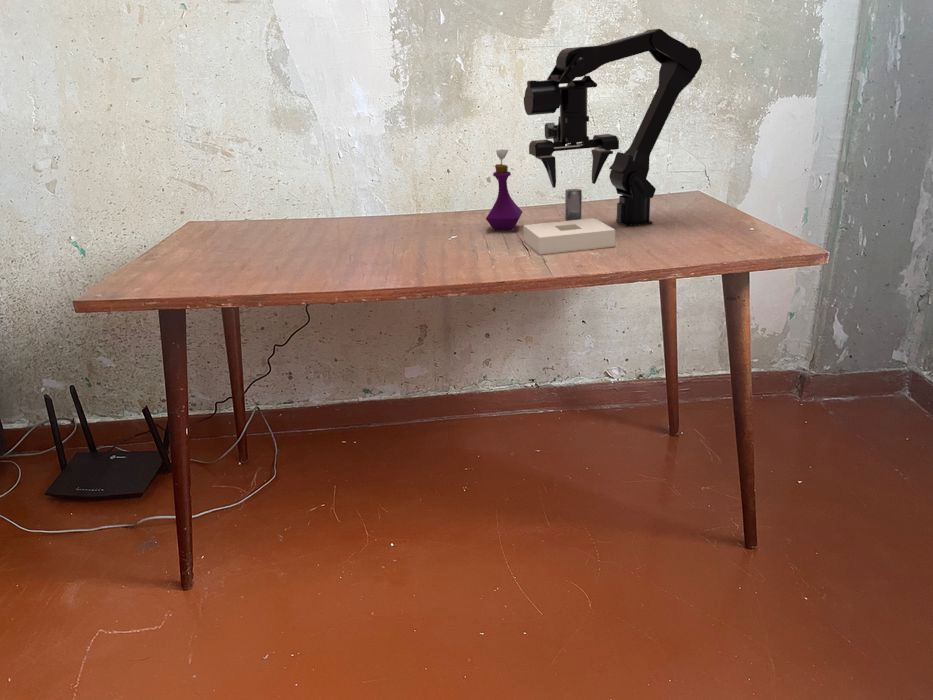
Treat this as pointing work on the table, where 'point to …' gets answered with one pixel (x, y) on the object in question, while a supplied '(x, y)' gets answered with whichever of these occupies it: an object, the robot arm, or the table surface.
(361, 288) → the table surface
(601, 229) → the socket board
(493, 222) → the perfume bottle
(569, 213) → the pin
